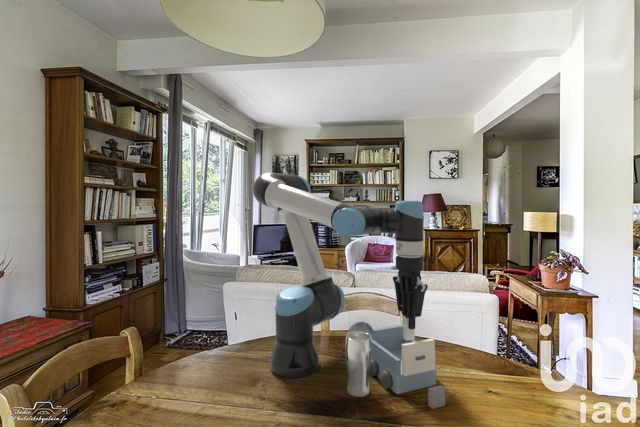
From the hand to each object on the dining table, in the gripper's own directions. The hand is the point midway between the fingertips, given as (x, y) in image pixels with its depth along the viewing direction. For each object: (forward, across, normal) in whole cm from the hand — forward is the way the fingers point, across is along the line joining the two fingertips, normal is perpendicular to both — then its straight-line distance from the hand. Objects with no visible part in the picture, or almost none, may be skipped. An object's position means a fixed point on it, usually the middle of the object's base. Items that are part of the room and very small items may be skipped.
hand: (408, 338), depth 93 cm
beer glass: (+13, -2, -15) cm, 20 cm away
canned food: (+13, -24, -2) cm, 27 cm away
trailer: (+13, 0, 0) cm, 13 cm away
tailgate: (+7, +5, 0) cm, 9 cm away
